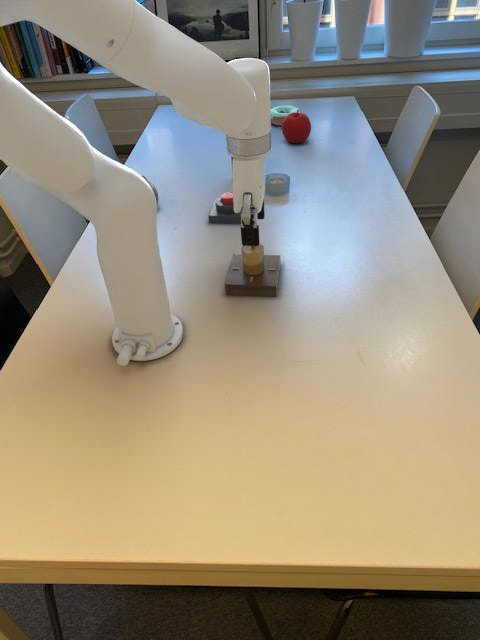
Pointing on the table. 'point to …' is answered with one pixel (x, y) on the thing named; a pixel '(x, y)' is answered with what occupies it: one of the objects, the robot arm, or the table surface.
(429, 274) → the table surface
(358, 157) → the table surface
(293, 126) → the apple
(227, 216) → the button block
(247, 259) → the knob
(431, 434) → the table surface
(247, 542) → the table surface
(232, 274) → the panel
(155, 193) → the vase
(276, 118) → the donut
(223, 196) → the button
